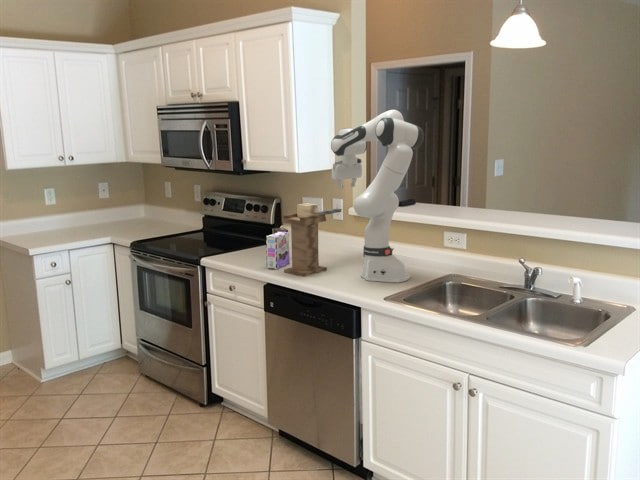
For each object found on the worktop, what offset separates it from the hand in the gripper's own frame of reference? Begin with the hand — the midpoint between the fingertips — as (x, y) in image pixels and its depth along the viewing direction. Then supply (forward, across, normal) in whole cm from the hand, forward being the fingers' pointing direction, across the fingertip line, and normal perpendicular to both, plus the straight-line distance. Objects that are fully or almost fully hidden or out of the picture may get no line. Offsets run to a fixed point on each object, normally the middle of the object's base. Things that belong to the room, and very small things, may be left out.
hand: (347, 187), depth 303 cm
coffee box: (+37, -24, +26) cm, 51 cm away
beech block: (+11, -22, -3) cm, 25 cm away
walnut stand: (+37, -35, -3) cm, 51 cm away
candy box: (+37, -36, +15) cm, 54 cm away
